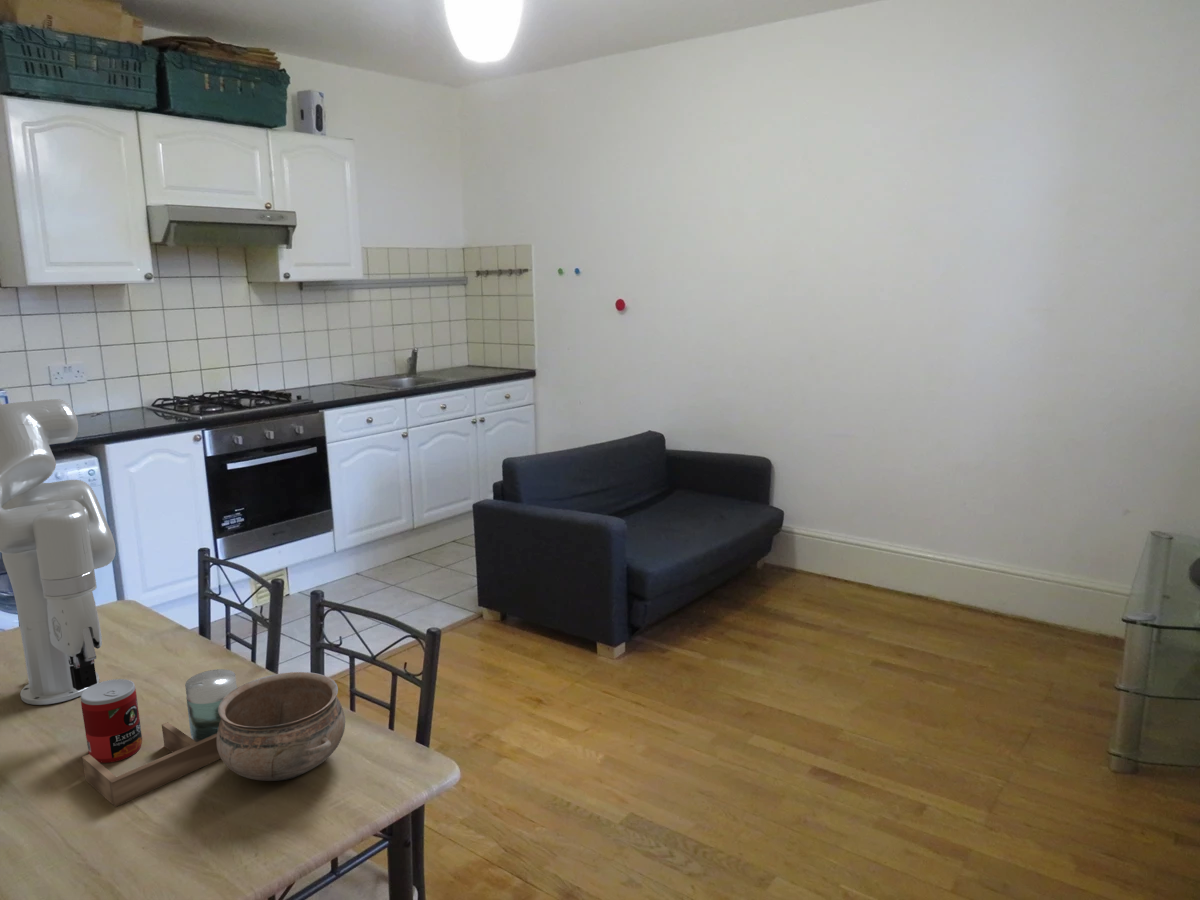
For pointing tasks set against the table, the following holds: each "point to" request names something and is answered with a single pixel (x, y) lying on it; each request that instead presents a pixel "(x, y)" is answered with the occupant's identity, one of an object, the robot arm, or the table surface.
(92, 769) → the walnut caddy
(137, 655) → the table surface
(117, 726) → the canned food
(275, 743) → the cooking pot
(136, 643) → the table surface
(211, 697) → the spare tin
